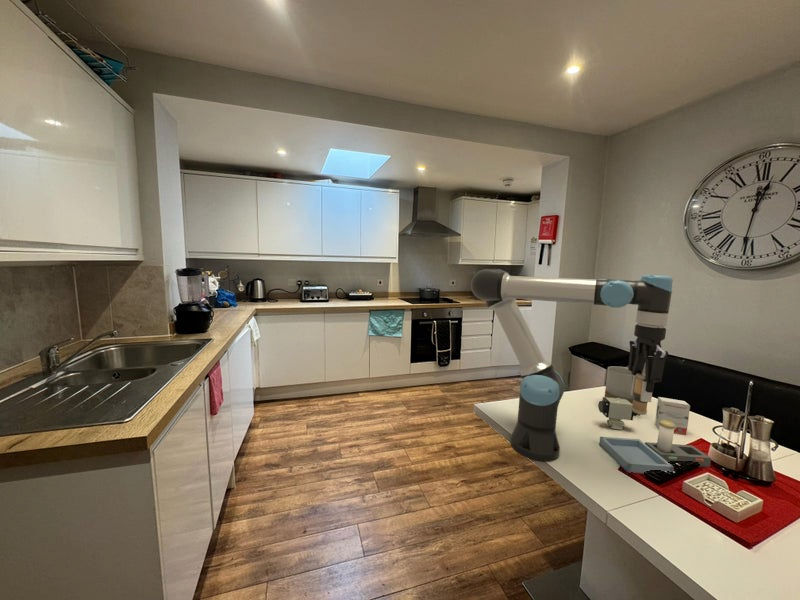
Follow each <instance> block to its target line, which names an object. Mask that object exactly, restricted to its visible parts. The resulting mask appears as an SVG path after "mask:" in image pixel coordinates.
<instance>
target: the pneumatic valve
mask: <svg viewBox="0 0 800 600" xmlns="http://www.w3.org/2000/svg"><path fill="white" fill-rule="evenodd" d="M597 404H598V411H599V412H600V413H602V414H603V416H605V418H608V419H607V420H606V425H607V426H608V427H610V429H612V430H617V431H622V430H624V429H625V425H626V424H625V422H624V421H623V420H626V421H634V417H637V416H638V415H637V413H634V412H633V411H632V410H631V409H632V405H633V403H632V402H630V401H629V400H626V399H620V398H607V397H605V396H603V397H602V399H601V400H599V401H598V403H597Z"/></svg>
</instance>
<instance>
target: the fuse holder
mask: <svg viewBox="0 0 800 600" xmlns="http://www.w3.org/2000/svg"><path fill="white" fill-rule="evenodd" d="M644 443H645V444H646V445H647V446H648V447H650V448H651V449H652V450H653V451H655V452H656V453H657V454H658V455H660V456H661V457H662V458H663V459H665V460H666V461H667V462H670V461H693V462H698V463H699V464H700V466H699V467H701V468H702V467H704V468H710V467H711V461H712V457H710V456H708V455H707V454H706V453H704V452H703V451H701V450H700V449H698V448H696V447H695V446H694V445H691V444H689V445H688V444H676V443H672V448H671V453H664V452H661V451H660V450H658V449H657V442H647V441H645V442H644Z"/></svg>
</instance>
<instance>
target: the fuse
mask: <svg viewBox="0 0 800 600" xmlns="http://www.w3.org/2000/svg"><path fill="white" fill-rule="evenodd" d="M659 424H660V426H659V430H658V435H657V440H656V441H657V442H656V443H657V449H658V450H660V451H661V452H664V453H671V448H672V444H673V441H674V440H673V439H674V434H675V433H674V428H675V424H674V423H673V422H670V421H667V420H660V423H659Z"/></svg>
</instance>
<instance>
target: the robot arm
mask: <svg viewBox="0 0 800 600" xmlns="http://www.w3.org/2000/svg"><path fill="white" fill-rule="evenodd" d="M673 282H674V280H673V277H671V276H669V275H659V274H658V275H656V274H654V275H653V274H652V275H651V274H643V275H642V276H641V277H640V280H628V279H611V278H598V279H595V278H594V279H593V278H592V279H591V278H590V279H589V278H571V277H570V278H566V277H565V278H564V277H543V276H524V275H523V276H522V275H510V274H509V272H507V271H504V270H502V269H499V268H492V269H491V268H485V269H481V270H479V271H477V272H476V273H475V274H474V275H473V276H472V278H471V282H470V289H471V291H472V294H473V295H474V297H475V298H477V299H479V300H481V301H485V303H486V306H487V307H488V309H490V310H492V311H494V313H495V316H496V317H497V320H498V322H499V324H500V325H501V328H502V330H503V332H504V334H505V336H506V338H507V340H508V342H509V344H510V346H511V348H512V350H513V352H514V354H515V357H516V359H517V361H518V363H519V365H520V367H521V371H520V373H519V374H520V377H521V382H520V386H519V399H518V413H517V422H516V424H515V426H514V428H513V430H512V433H511V435H510V441H509V442H510V447H511V448H512V449H513V450H514V451H515V452H516V453H517V454H519V455H521V456H523V457H524V458H527V459H530V460H533V461H537V462H552V461H555V460H557V459H559V457H560V452H561V451H560V450H561V449H560V444H559V443H560V442H559V439H558V435H557V432H556V427H557V426H556V425H557V416H558V409H559V405H560V402H561V400H562V397H563V396H564V393H565V383H564V380H563V378H562V376H561V375H560V374H559V373H558V372H557V371H556V370H555V368H554V366H553V364H552V362H550V361H548V360H545V358H544V356H543V354H542V352H541V350H540V348H539V346H538V344H537V342H536V340H535V338H534V336H533V334H532V332H531V330H530V328H529V325H528V323H527V322H526V319H525V318H524V316H523V314H522V311H521V310H520V308H519V305H518V304H517V300H518V299H519V300H527V301H528V300H529V301H530V300H531V301H543V302H555V303H556V302H558V303H570V304H583V305H595V306H605V307H610V308H614V309H615V308H618V309H619V308H623V307H626V306H627V305H633V306H634V305H636V306H637V310H636V315H635V323H636V324H635V325H634V332H633V335H634V336H635V337H636V340H629V357H628V365H627V366H628V367H627V368H628V370H629V371H631V372H632V374H633V377H632V388H631V395H632V396H634V390H635V382H636V374H637V373H641V374H643V373H644V374H645V379H643V384H642V391H641V398H640V401H643V402H648V403H651V402H652V397H653V393H654V390H655V389H654V388H655V384H656V383H661V382H662V381H663V375H664V370H665V364H666V359H667V357H668V355H669V352H668V350H663V349H662V344H661V342H662V341H664V340H665V339H666V333H667V328H666V326H667V325H668V318H669V311H670V307H671V299H672V294H673ZM644 369H645V372H643V371H644ZM642 372H643V373H642Z"/></svg>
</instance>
